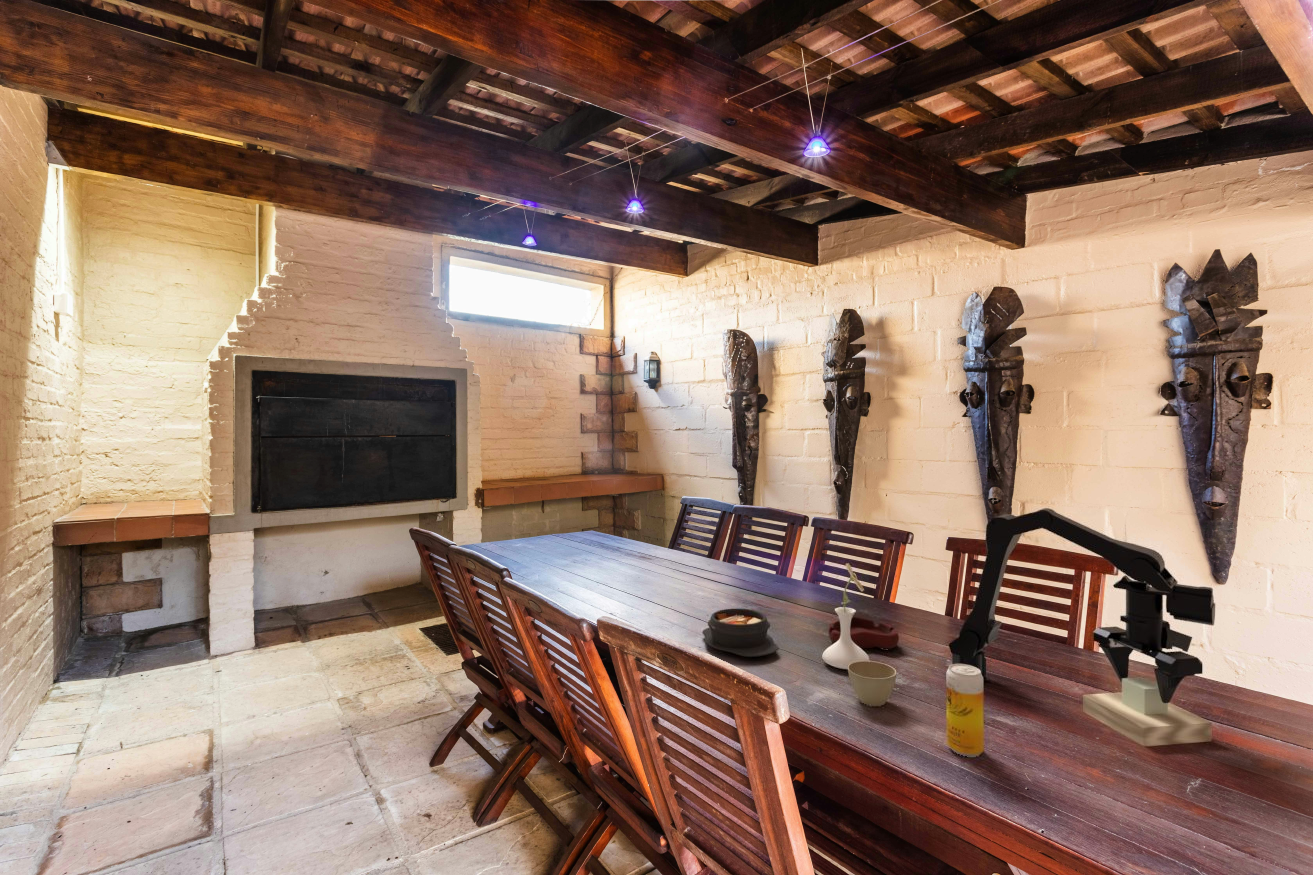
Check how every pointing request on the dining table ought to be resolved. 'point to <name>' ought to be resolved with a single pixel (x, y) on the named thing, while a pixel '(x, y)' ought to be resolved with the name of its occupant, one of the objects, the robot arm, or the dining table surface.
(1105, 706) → the birch base
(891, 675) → the flower pot
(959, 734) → the beer can
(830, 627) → the ashtray
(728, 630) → the casserole
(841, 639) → the flower in vase
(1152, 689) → the sage block
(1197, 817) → the dining table surface
